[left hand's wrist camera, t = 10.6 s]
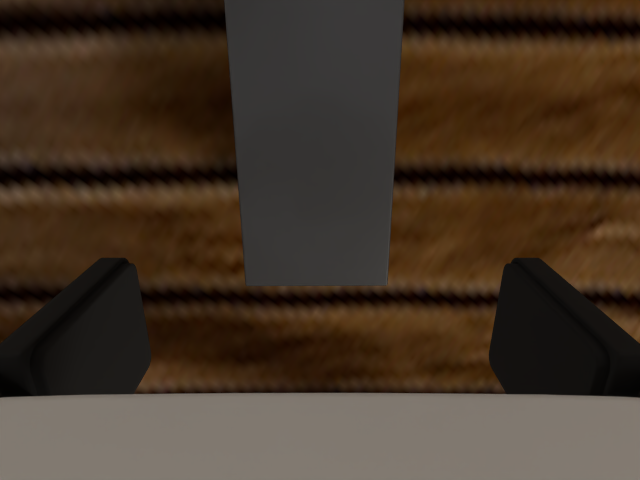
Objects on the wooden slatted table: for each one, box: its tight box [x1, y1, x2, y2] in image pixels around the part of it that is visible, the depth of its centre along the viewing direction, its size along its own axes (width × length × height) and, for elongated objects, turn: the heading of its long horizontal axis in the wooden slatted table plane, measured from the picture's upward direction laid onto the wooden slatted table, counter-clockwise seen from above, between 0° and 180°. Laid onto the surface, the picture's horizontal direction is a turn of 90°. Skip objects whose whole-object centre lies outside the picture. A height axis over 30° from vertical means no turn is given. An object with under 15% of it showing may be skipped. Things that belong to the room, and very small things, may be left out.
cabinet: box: [224, 0, 404, 286], centre depth 20 cm, size 21×6×10 cm, turn 0°
